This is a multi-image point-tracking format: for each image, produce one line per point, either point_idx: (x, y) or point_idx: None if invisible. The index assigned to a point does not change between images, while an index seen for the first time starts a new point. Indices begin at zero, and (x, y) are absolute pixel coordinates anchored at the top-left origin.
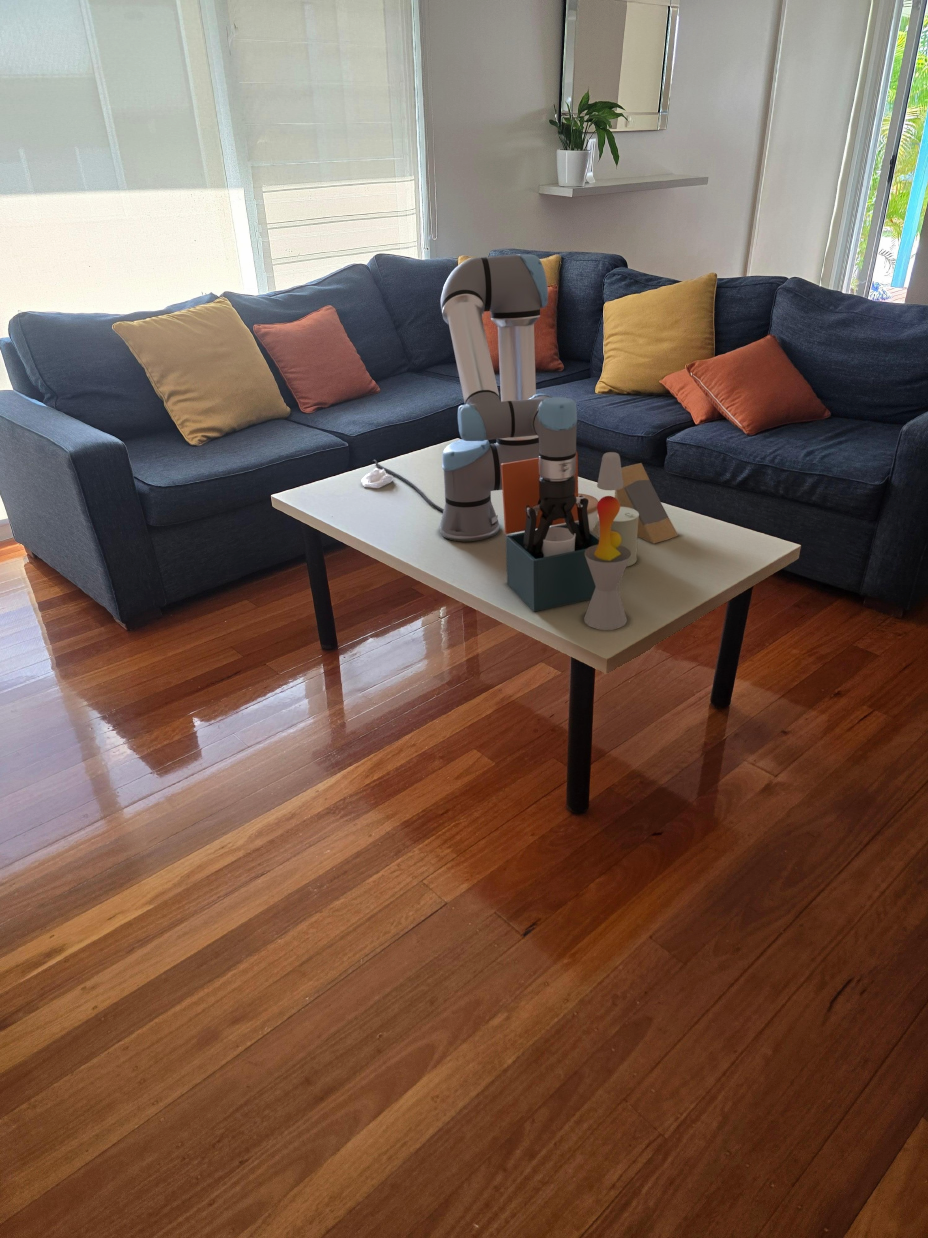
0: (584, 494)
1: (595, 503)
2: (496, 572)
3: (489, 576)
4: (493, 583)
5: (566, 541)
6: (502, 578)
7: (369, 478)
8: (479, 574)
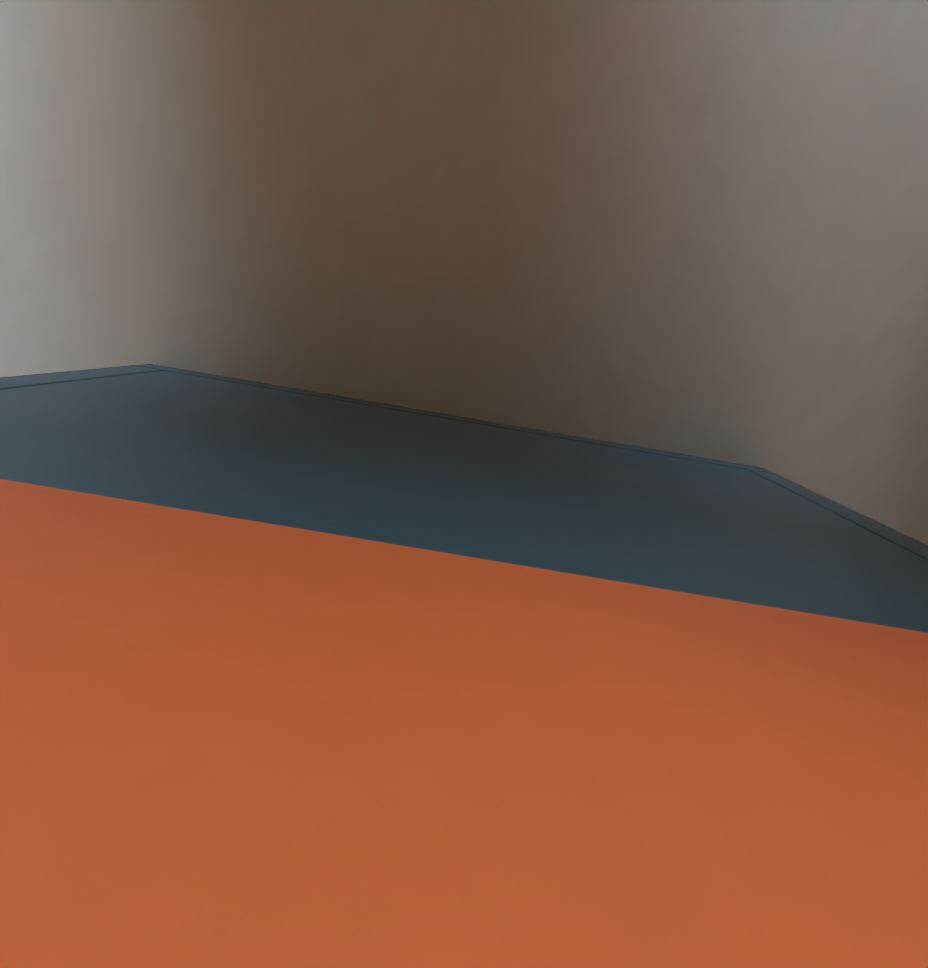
0: None
1: None
2: (168, 100)
3: (79, 138)
4: (57, 284)
5: None
6: (162, 245)
7: None
8: (13, 39)
